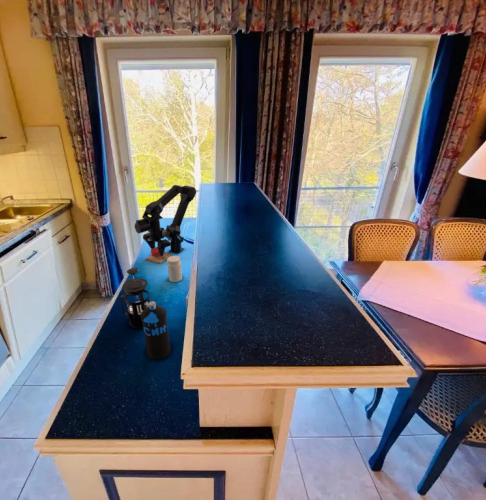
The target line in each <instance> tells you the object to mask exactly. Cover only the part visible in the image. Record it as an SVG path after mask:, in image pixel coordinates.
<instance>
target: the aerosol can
mask: <svg viewBox="0 0 486 500" xmlns="http://www.w3.org/2000/svg"><path fill="white" fill-rule="evenodd" d="M148 303H149V307H147V308H146V309H144V310H143V311H142V313H141V315H140V316H139V318H140V319H141V321H142V324H143V334H144V341H145V346H146V355H147V357H148V358H149V359H151V360H154V361H159V360H163V359H165V358H167V357H168V356H169V355H170V354H171V350H172V347H171V344H170V343H171V342H170V336H169V335H170V334H169V328H168V320H167V314H168V313H167V310H166V308H165V307H163V306H161V305H158V304H156V302H155V301H153V300H150V302H148Z"/></svg>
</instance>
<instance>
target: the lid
mask: <svg viewBox="0 0 486 500" xmlns="http://www.w3.org/2000/svg"><path fill="white" fill-rule="evenodd" d="M165 253H166V250H164V254H165ZM164 254H163V255H164ZM151 255H152V256H154V257H159V256H161V255H160V253H159V251H158V249H157V246H155V248H153V249H151V248H150V256H151Z"/></svg>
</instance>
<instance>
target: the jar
mask: <svg viewBox="0 0 486 500" xmlns="http://www.w3.org/2000/svg"><path fill="white" fill-rule="evenodd" d="M166 267H167V276H168V281H169V282H172V283H179V282H181V281H182V280H183V273H182V272H183V269H182V261H181V257H180V256H178V255H171V256H170V257H168V258H167V259H166Z"/></svg>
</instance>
